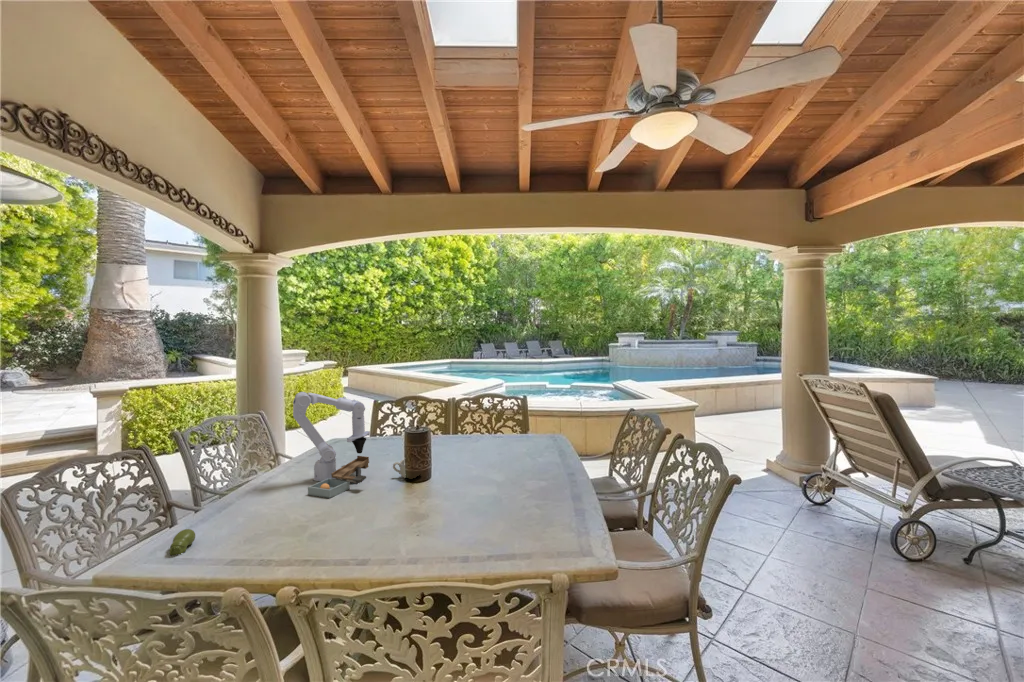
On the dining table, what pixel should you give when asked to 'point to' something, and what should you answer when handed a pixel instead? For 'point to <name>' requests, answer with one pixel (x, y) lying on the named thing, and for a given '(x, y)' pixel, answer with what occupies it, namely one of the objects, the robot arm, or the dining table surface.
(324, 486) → the ball
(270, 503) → the dining table surface
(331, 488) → the tray
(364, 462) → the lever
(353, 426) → the robot arm
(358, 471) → the stand
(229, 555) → the dining table surface
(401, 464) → the teacup
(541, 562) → the dining table surface
